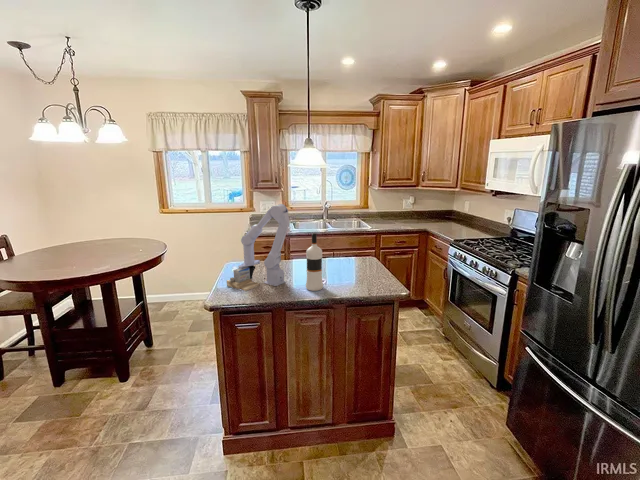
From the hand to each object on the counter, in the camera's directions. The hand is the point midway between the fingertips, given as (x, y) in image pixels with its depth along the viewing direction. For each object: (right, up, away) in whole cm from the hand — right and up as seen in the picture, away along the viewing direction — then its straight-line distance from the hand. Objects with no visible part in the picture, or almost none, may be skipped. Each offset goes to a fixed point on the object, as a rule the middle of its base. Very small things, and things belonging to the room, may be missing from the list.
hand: (250, 278), depth 184 cm
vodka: (+37, -4, -12) cm, 39 cm away
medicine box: (-3, -2, -5) cm, 6 cm away
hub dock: (-2, -3, -8) cm, 9 cm away
